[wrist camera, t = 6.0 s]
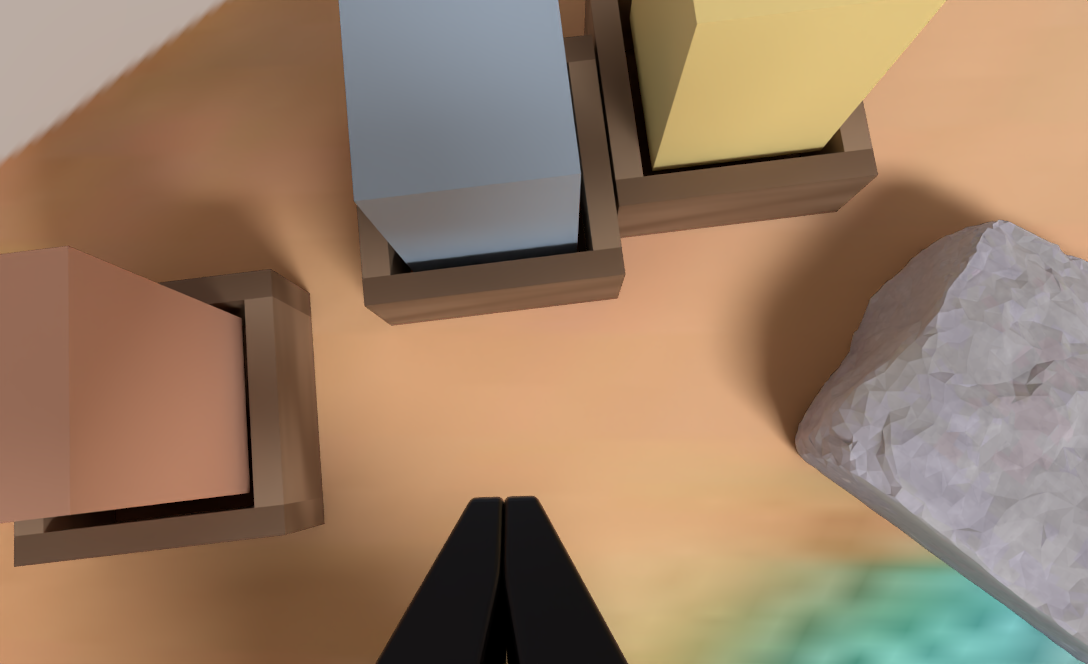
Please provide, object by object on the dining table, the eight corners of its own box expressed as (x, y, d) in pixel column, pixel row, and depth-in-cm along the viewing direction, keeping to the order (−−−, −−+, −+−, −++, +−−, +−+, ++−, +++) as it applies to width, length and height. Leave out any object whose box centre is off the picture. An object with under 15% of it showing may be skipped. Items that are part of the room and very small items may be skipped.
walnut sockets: (883, 457, 23) (935, 458, 19) (90, 551, 23) (13, 566, 20) (797, 7, 25) (830, -57, 22) (85, 95, 25) (16, 45, 22)
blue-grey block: (576, 262, 23) (581, 173, 16) (421, 281, 23) (353, 201, 16) (557, 117, 24) (554, -32, 17) (407, 135, 24) (338, -5, 17)
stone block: (896, 233, 26) (758, 463, 23) (991, 163, 21) (834, 439, 18) (1193, 434, 25) (1091, 703, 22) (1359, 406, 20) (1260, 741, 17)
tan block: (249, 492, 20) (69, 514, 13) (73, 513, 20) (-205, 547, 13) (241, 318, 21) (68, 245, 14) (72, 338, 21) (-191, 277, 14)
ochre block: (820, 150, 22) (953, -8, 14) (652, 170, 22) (697, 23, 14) (791, -3, 22) (902, -228, 15) (629, 17, 22) (660, -197, 15)
